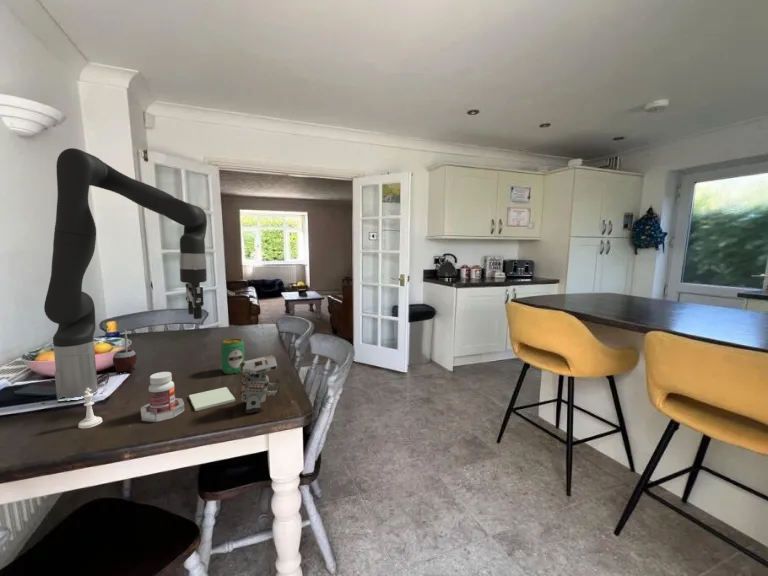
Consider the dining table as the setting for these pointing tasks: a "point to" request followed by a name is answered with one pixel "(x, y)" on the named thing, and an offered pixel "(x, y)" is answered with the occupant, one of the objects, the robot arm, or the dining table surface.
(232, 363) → the beverage can
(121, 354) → the mate gourd
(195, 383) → the dining table surface
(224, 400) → the sage pad
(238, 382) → the dining table surface
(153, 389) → the pill bottle
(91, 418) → the chess piece
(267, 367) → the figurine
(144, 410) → the steel collar
